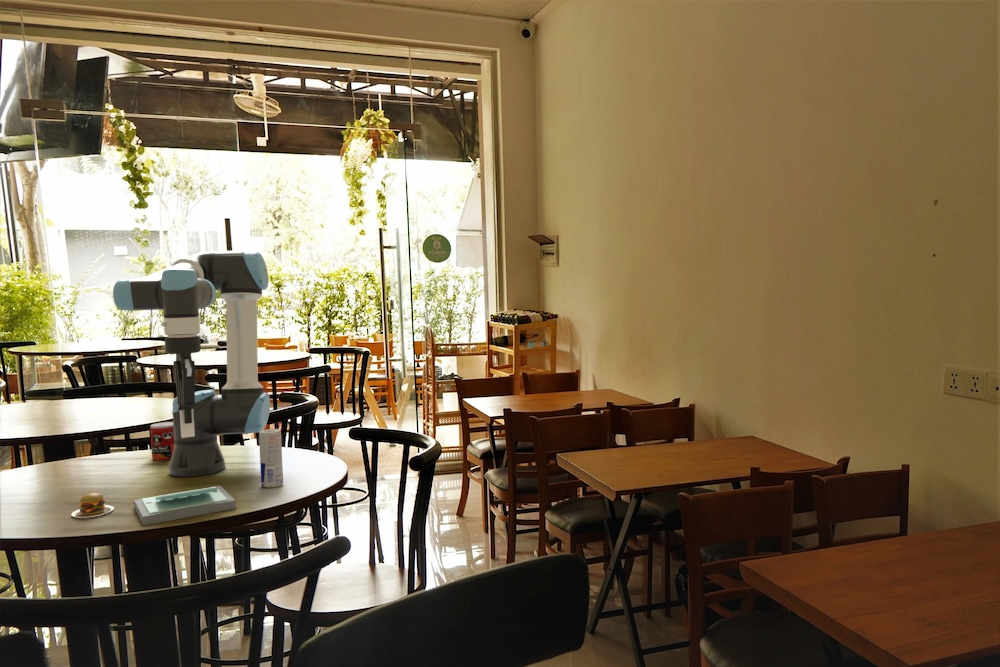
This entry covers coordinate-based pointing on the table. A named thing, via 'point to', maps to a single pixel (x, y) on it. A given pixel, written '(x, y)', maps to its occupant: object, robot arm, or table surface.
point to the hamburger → (92, 505)
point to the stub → (185, 494)
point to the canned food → (162, 441)
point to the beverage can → (271, 458)
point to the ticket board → (183, 506)
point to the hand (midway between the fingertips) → (187, 436)
